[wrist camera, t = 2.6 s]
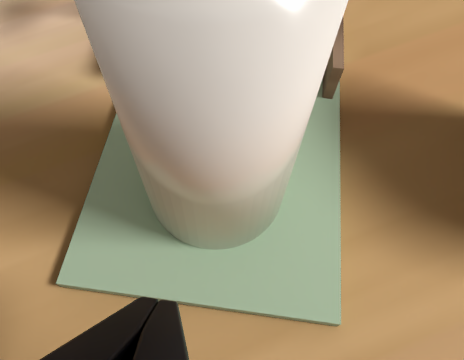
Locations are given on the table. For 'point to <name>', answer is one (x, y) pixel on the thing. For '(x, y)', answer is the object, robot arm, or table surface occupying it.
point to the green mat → (225, 260)
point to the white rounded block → (213, 102)
